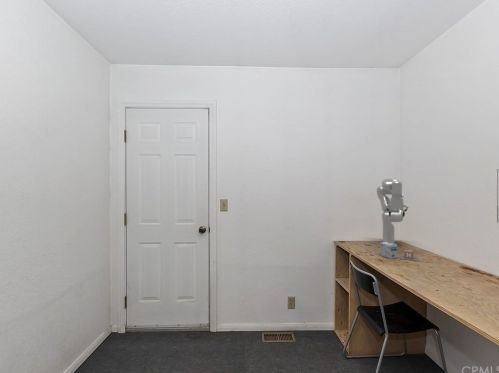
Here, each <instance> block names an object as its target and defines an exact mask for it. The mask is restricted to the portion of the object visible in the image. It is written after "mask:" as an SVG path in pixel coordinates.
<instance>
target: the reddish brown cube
mask: <svg viewBox="0 0 499 373" xmlns="http://www.w3.org/2000/svg"><path fill="white" fill-rule="evenodd" d="M404 256H405V258H407V259H413V256H414V250H413V249H412V250H411V249H404Z"/></svg>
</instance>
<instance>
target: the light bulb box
mask: <svg viewBox="0 0 499 373" xmlns="http://www.w3.org/2000/svg"><path fill="white" fill-rule="evenodd" d="M379 244H380V245H379V246H380V247H379V248H380V250H379V252H380V253H379V256H381V257H384V258H387V259H391V260H392V259H398V244H396V243H394V244H392V243H388V242H383V241H382V242H381V241H380V243H379Z"/></svg>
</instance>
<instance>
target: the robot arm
mask: <svg viewBox="0 0 499 373" xmlns="http://www.w3.org/2000/svg"><path fill="white" fill-rule="evenodd" d="M402 186H403V184H402V182H401V181H399V179H397V178H384V179H383V180H382V181H381V186H378V187H377V188H376V194H377V197H378V199H379V201H380V205H381V210H382V213H381V219H382V242H388V243H392V244H395V225H394V223H401V222H403V221H404V218H405V214H406V212H407V211H408V209H409V206H407V205H404V204H405V203H404V194H403V187H402ZM389 195H390V196H391V197H390V198H389V197H388V196H389Z"/></svg>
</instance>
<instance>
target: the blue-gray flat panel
mask: <svg viewBox="0 0 499 373" xmlns="http://www.w3.org/2000/svg"><path fill="white" fill-rule="evenodd" d="M399 259H400V260H404V261H412V262H413V261H414V262H419V259H418V257H417V256H414V255H413V259H407V258H405V254H403V255H402V254H399Z"/></svg>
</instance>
